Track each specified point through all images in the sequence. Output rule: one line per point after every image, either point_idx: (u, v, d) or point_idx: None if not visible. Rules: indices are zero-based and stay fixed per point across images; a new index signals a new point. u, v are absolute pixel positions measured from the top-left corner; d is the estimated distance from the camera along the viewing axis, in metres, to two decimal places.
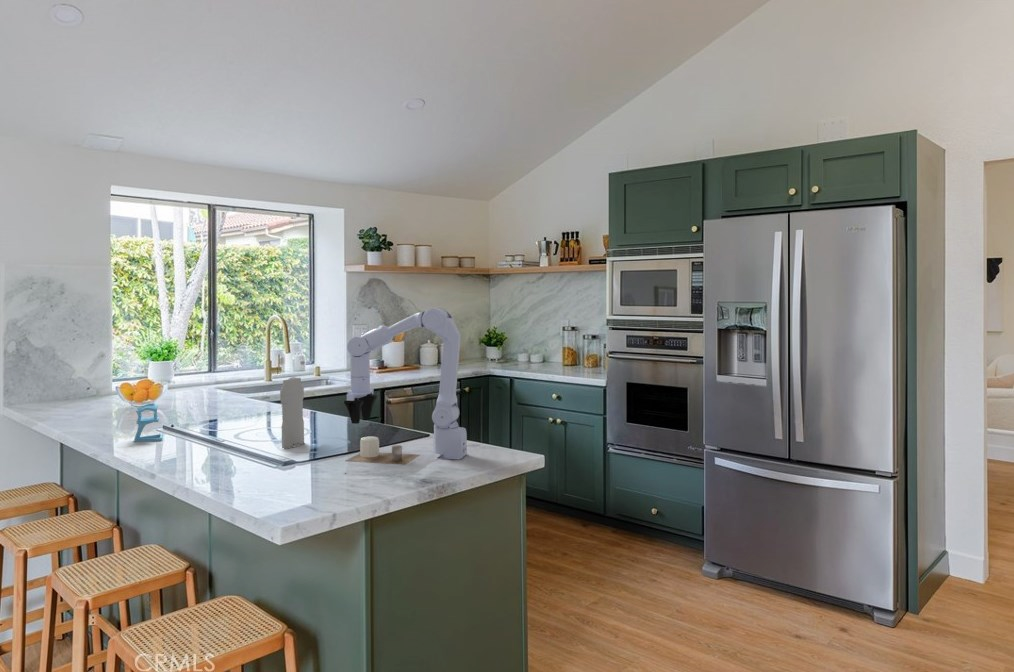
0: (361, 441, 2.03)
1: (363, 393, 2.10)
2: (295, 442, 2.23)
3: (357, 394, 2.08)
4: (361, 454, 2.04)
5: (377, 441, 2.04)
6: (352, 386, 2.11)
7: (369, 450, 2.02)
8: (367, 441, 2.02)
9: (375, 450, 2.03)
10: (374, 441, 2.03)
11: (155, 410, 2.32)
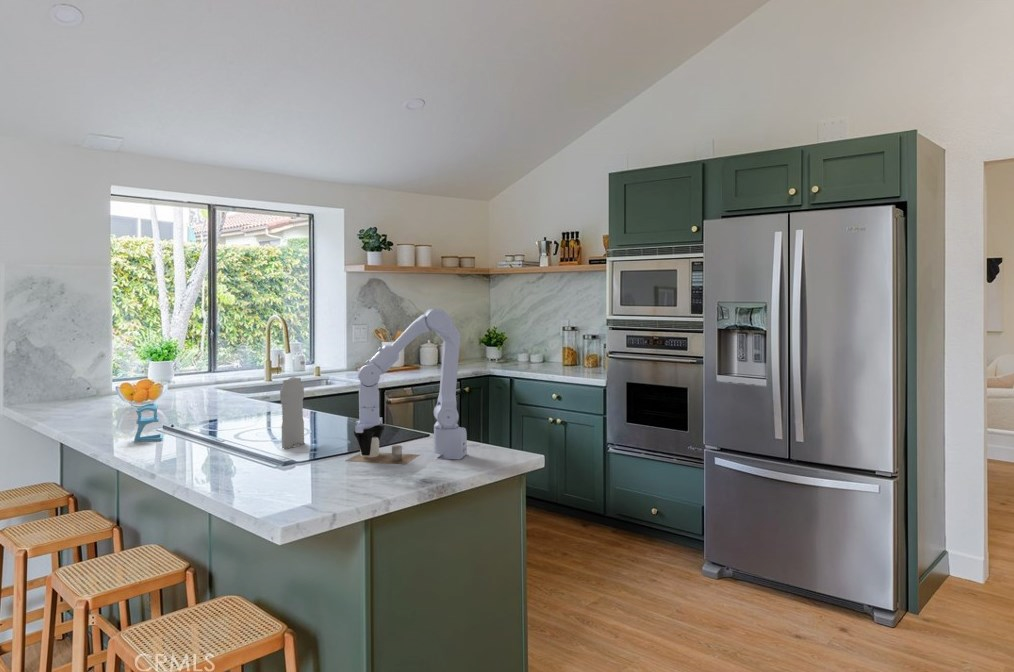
0: None
1: (372, 424, 2.01)
2: (295, 442, 2.23)
3: (366, 426, 1.99)
4: (361, 454, 2.04)
5: (377, 441, 2.04)
6: (361, 417, 2.02)
7: None
8: None
9: (375, 450, 2.03)
10: (374, 441, 2.03)
11: (155, 410, 2.32)
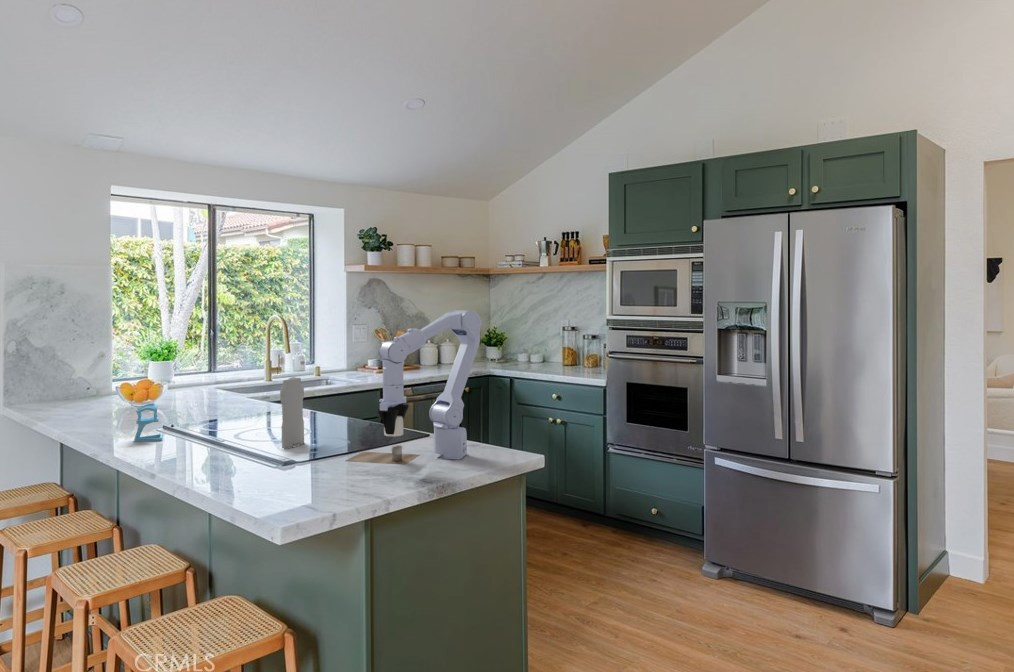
0: None
1: (397, 402, 1.95)
2: (295, 442, 2.23)
3: (391, 403, 1.93)
4: (385, 433, 1.98)
5: (401, 420, 1.98)
6: (385, 395, 1.96)
7: None
8: None
9: (399, 429, 1.97)
10: (398, 420, 1.97)
11: (155, 410, 2.32)
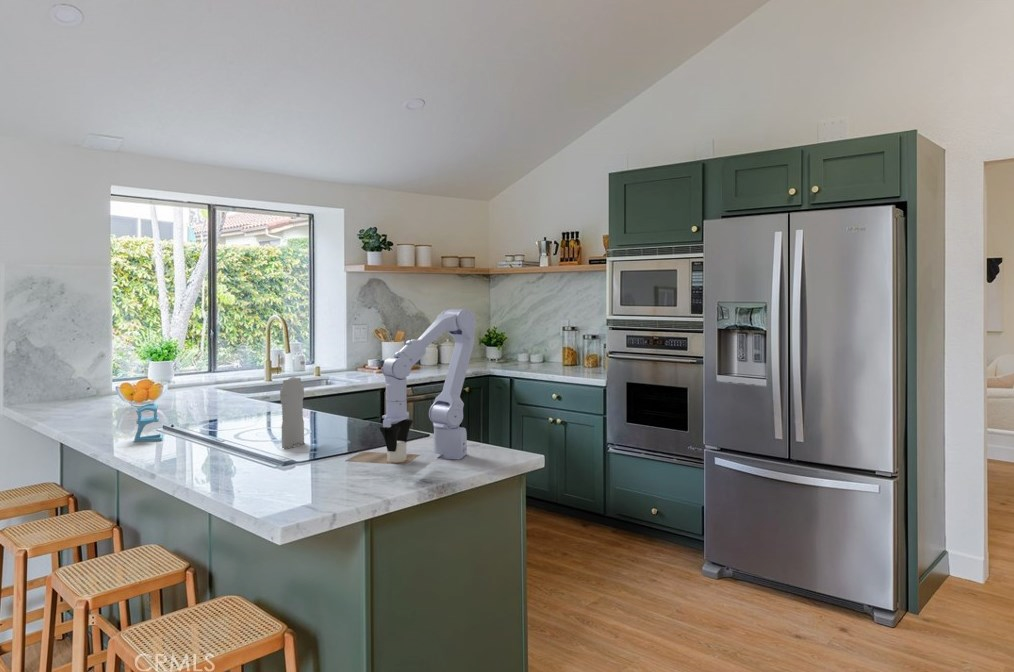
0: None
1: (400, 419, 1.95)
2: (295, 442, 2.23)
3: (394, 420, 1.93)
4: (388, 459, 1.97)
5: (404, 446, 1.98)
6: (388, 411, 1.96)
7: (396, 455, 1.96)
8: None
9: (402, 455, 1.97)
10: (401, 446, 1.97)
11: (155, 410, 2.32)
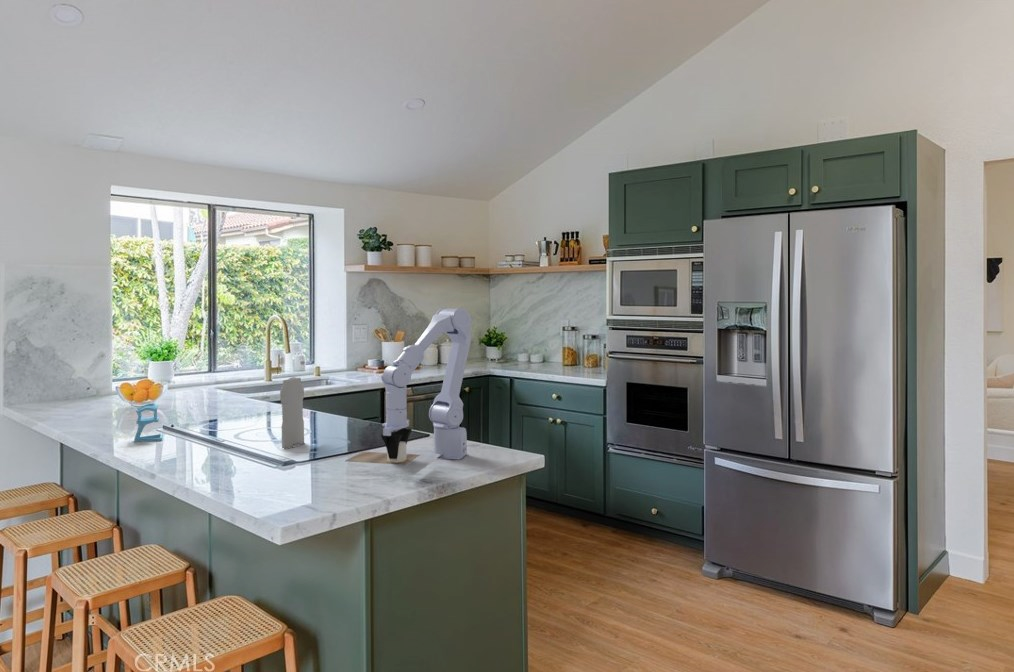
0: None
1: (400, 427, 1.95)
2: (295, 442, 2.23)
3: (394, 428, 1.93)
4: (388, 459, 1.97)
5: (404, 446, 1.98)
6: (388, 419, 1.96)
7: None
8: None
9: (402, 455, 1.97)
10: (401, 446, 1.97)
11: (155, 410, 2.32)
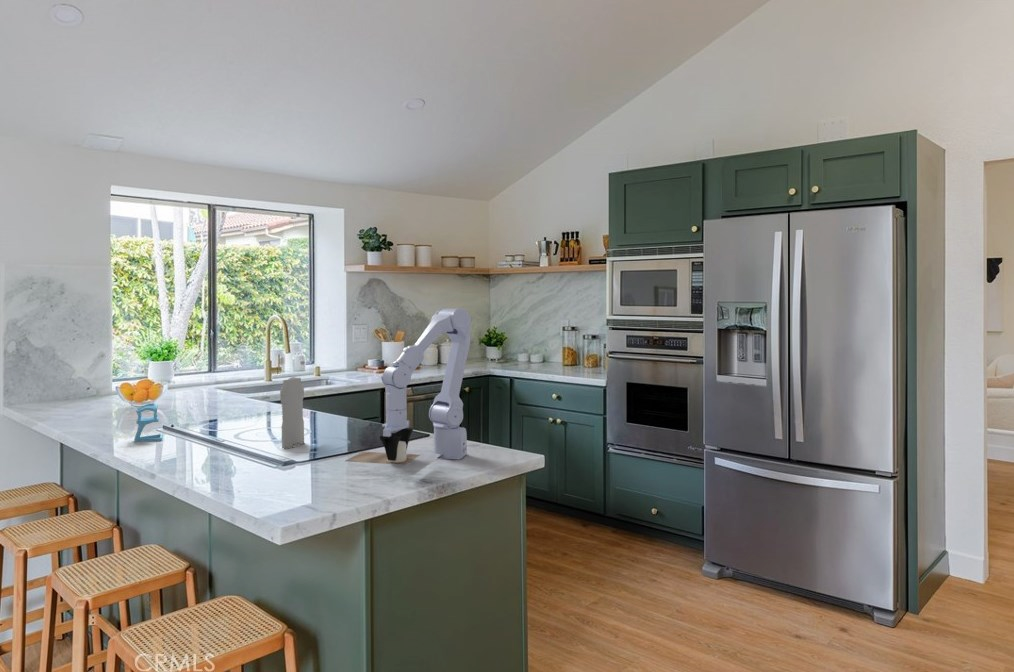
0: None
1: (400, 428, 1.95)
2: (295, 442, 2.23)
3: (394, 429, 1.93)
4: None
5: (404, 446, 1.98)
6: (388, 420, 1.96)
7: None
8: None
9: (403, 455, 1.97)
10: (402, 446, 1.97)
11: (155, 410, 2.32)
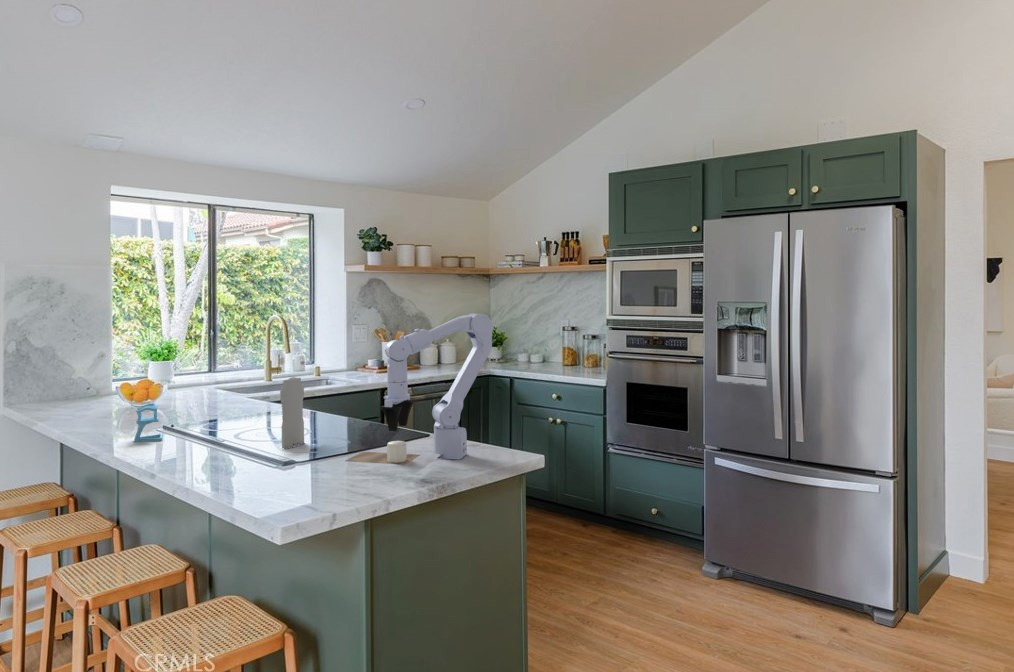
0: (388, 446, 1.97)
1: (401, 399, 2.01)
2: (295, 442, 2.23)
3: (395, 400, 1.99)
4: (388, 459, 1.97)
5: (404, 446, 1.98)
6: (389, 392, 2.02)
7: (396, 455, 1.96)
8: (394, 446, 1.96)
9: (403, 455, 1.97)
10: (402, 446, 1.97)
11: (155, 410, 2.32)
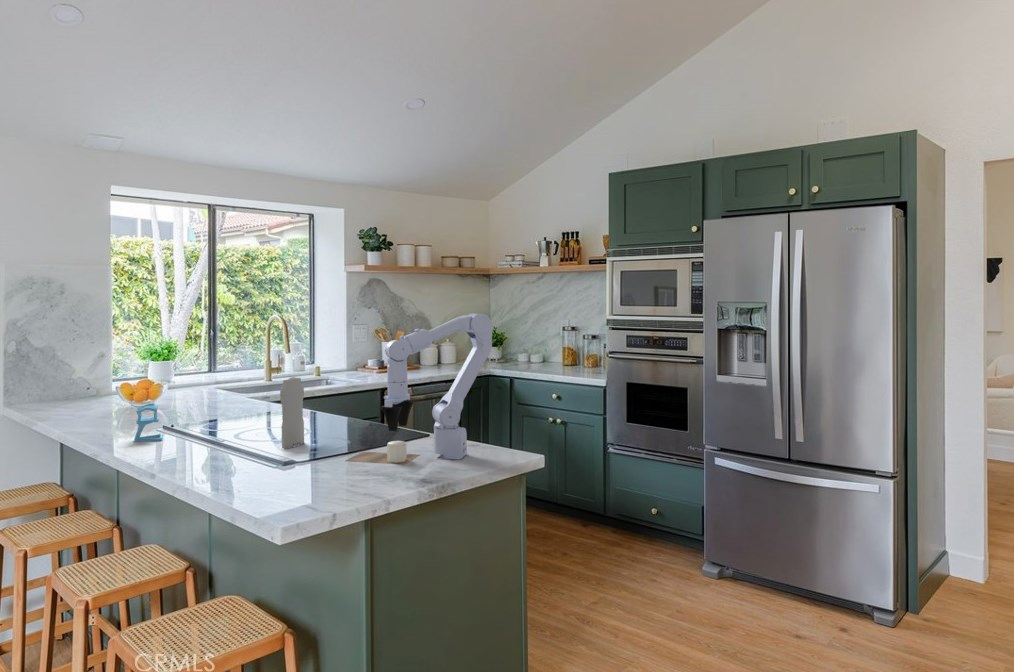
0: (388, 446, 1.97)
1: (401, 399, 2.01)
2: (295, 442, 2.23)
3: (395, 400, 1.99)
4: (388, 459, 1.97)
5: (404, 446, 1.98)
6: (389, 392, 2.02)
7: (396, 455, 1.96)
8: (394, 446, 1.96)
9: (403, 455, 1.97)
10: (402, 446, 1.97)
11: (155, 410, 2.32)
